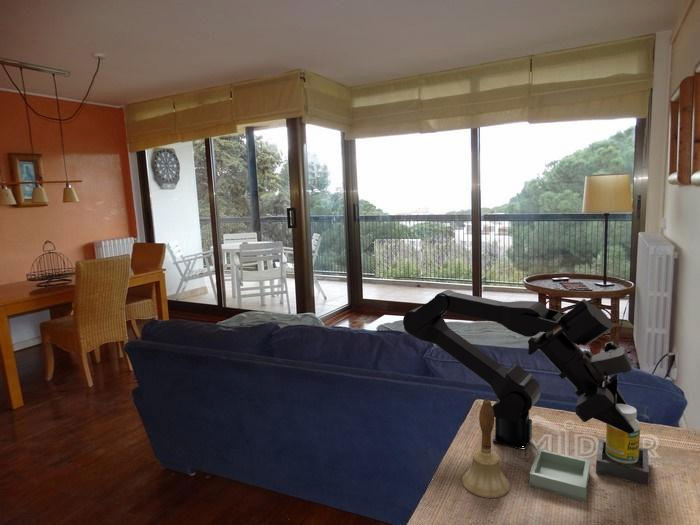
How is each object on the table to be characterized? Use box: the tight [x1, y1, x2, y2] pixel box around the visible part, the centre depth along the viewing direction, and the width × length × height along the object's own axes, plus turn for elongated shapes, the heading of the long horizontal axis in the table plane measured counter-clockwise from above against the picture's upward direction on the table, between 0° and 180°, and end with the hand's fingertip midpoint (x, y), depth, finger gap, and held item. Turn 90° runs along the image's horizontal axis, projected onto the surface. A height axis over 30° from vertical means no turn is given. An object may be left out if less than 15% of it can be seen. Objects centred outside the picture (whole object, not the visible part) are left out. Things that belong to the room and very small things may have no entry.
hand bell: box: [461, 399, 511, 499], centre depth 83 cm, size 8×8×16 cm
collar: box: [595, 439, 650, 486], centre depth 87 cm, size 8×8×2 cm
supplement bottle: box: [605, 404, 641, 465], centre depth 86 cm, size 5×5×10 cm
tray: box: [528, 448, 591, 502], centre depth 84 cm, size 9×9×2 cm
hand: (632, 425), depth 85 cm, fingers closed on supplement bottle, 5 cm apart
